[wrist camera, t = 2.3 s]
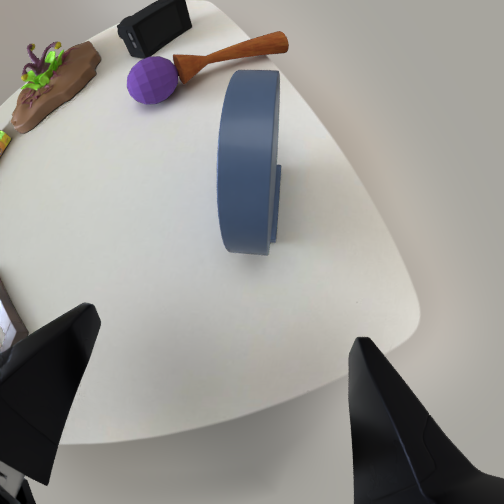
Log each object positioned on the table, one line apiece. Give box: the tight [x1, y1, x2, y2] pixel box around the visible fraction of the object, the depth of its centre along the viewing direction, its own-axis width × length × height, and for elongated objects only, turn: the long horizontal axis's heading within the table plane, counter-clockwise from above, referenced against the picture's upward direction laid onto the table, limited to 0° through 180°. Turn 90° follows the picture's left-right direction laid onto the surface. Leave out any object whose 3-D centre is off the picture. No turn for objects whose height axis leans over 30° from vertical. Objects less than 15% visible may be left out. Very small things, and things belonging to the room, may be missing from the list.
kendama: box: [127, 31, 289, 104], centre depth 26 cm, size 6×6×20 cm
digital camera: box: [117, 0, 192, 59], centre depth 29 cm, size 10×5×7 cm, turn 145°
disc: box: [217, 70, 281, 255], centre depth 17 cm, size 12×3×13 cm, turn 174°
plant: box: [11, 41, 101, 133], centre depth 27 cm, size 20×20×11 cm
